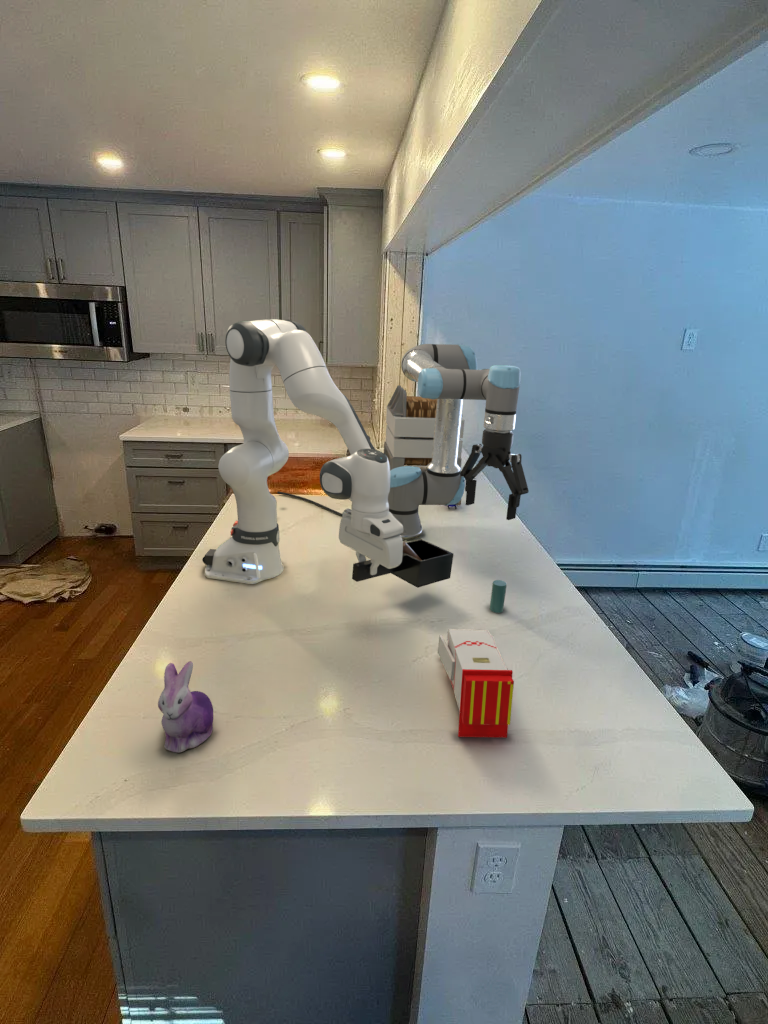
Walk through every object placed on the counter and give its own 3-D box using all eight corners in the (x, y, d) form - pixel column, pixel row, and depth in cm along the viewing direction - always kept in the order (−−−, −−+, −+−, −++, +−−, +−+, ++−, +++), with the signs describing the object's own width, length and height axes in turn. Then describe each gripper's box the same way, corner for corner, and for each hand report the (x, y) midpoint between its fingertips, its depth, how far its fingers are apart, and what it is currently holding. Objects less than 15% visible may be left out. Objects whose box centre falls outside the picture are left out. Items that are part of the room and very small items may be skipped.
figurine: (165, 763, 97) (157, 690, 92) (158, 725, 105) (150, 656, 100) (221, 746, 101) (217, 675, 96) (210, 711, 109) (205, 644, 104)
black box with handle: (338, 582, 142) (340, 556, 140) (418, 562, 160) (421, 538, 158) (369, 602, 133) (371, 574, 131) (450, 578, 151) (453, 553, 149)
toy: (488, 613, 130) (523, 677, 101) (484, 667, 133) (517, 744, 104) (435, 612, 130) (455, 676, 101) (432, 666, 133) (451, 743, 103)
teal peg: (486, 608, 152) (490, 582, 149) (495, 604, 154) (498, 578, 152) (497, 614, 150) (500, 587, 147) (505, 610, 152) (509, 583, 149)
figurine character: (461, 514, 225) (456, 498, 239) (463, 497, 222) (458, 482, 235) (444, 513, 225) (440, 498, 239) (446, 496, 222) (442, 481, 235)
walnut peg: (411, 572, 152) (392, 551, 150) (418, 563, 154) (400, 542, 152) (419, 571, 149) (400, 550, 147) (426, 561, 151) (407, 540, 149)
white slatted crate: (382, 463, 289) (386, 382, 275) (445, 464, 293) (451, 384, 279) (390, 482, 257) (394, 392, 243) (460, 483, 261) (468, 394, 247)
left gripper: (333, 508, 139) (332, 559, 144) (387, 534, 125) (384, 590, 129) (353, 503, 143) (352, 553, 148) (408, 528, 129) (405, 583, 133)
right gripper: (451, 423, 146) (444, 500, 153) (531, 441, 129) (520, 528, 136) (470, 420, 151) (463, 496, 158) (550, 437, 133) (538, 522, 140)
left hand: (367, 571), depth 139 cm, fingers closed on black box with handle
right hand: (489, 511), depth 147 cm, fingers open, 13 cm apart
